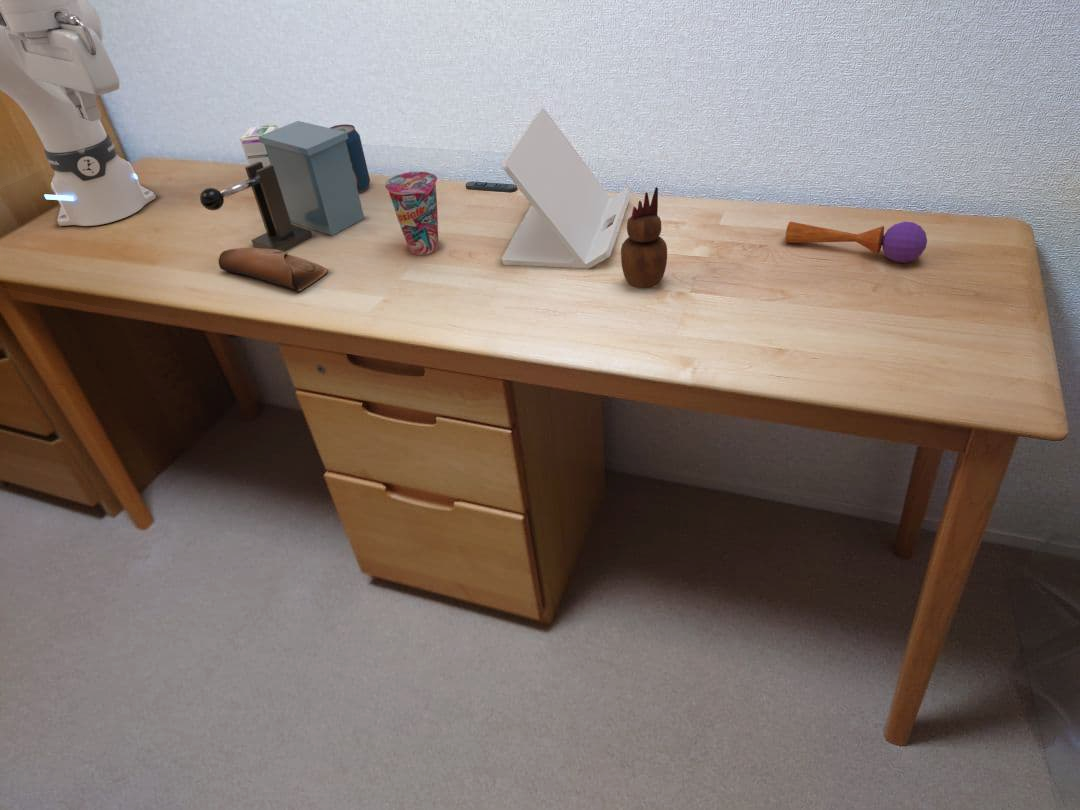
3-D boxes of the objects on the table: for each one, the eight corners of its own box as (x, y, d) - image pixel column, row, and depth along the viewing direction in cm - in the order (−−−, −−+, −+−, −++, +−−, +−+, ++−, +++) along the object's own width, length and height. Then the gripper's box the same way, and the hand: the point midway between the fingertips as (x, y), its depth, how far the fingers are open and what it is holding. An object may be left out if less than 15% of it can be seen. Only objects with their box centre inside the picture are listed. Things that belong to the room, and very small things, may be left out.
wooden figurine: (665, 273, 118) (668, 180, 108) (666, 292, 113) (669, 197, 104) (621, 274, 119) (620, 182, 109) (621, 293, 114) (619, 199, 105)
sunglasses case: (331, 267, 127) (308, 245, 121) (312, 304, 126) (287, 283, 120) (256, 249, 135) (231, 227, 129) (237, 283, 134) (210, 262, 128)
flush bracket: (276, 255, 134) (251, 178, 125) (253, 246, 138) (227, 171, 129) (312, 236, 139) (290, 161, 130) (289, 228, 142) (266, 154, 133)
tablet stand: (501, 264, 124) (488, 163, 114) (536, 199, 143) (528, 107, 132) (610, 269, 120) (608, 164, 110) (632, 201, 139) (632, 106, 128)
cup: (389, 255, 130) (374, 188, 123) (418, 233, 136) (405, 168, 128) (434, 264, 126) (421, 195, 119) (461, 241, 132) (451, 174, 125)
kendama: (795, 209, 122) (932, 219, 113) (791, 245, 125) (925, 258, 115) (785, 217, 118) (927, 228, 108) (781, 255, 121) (919, 269, 111)
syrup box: (292, 208, 149) (269, 134, 140) (262, 210, 150) (238, 137, 141) (299, 196, 154) (278, 124, 145) (271, 198, 154) (248, 126, 145)
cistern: (331, 237, 138) (306, 148, 128) (284, 221, 145) (258, 136, 135) (367, 218, 143) (346, 131, 133) (321, 203, 150) (298, 120, 140)
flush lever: (212, 215, 124) (204, 194, 122) (200, 211, 126) (192, 190, 124) (276, 187, 131) (270, 167, 129) (264, 183, 133) (258, 163, 131)
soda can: (360, 179, 158) (347, 120, 151) (377, 187, 154) (364, 128, 146) (331, 189, 155) (315, 130, 148) (347, 198, 151) (332, 138, 143)
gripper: (104, 9, 95) (149, 122, 103) (32, -1, 105) (78, 102, 114) (54, 22, 91) (105, 137, 100) (-15, 10, 101) (36, 115, 110)
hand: (90, 118), depth 107 cm, fingers closed
